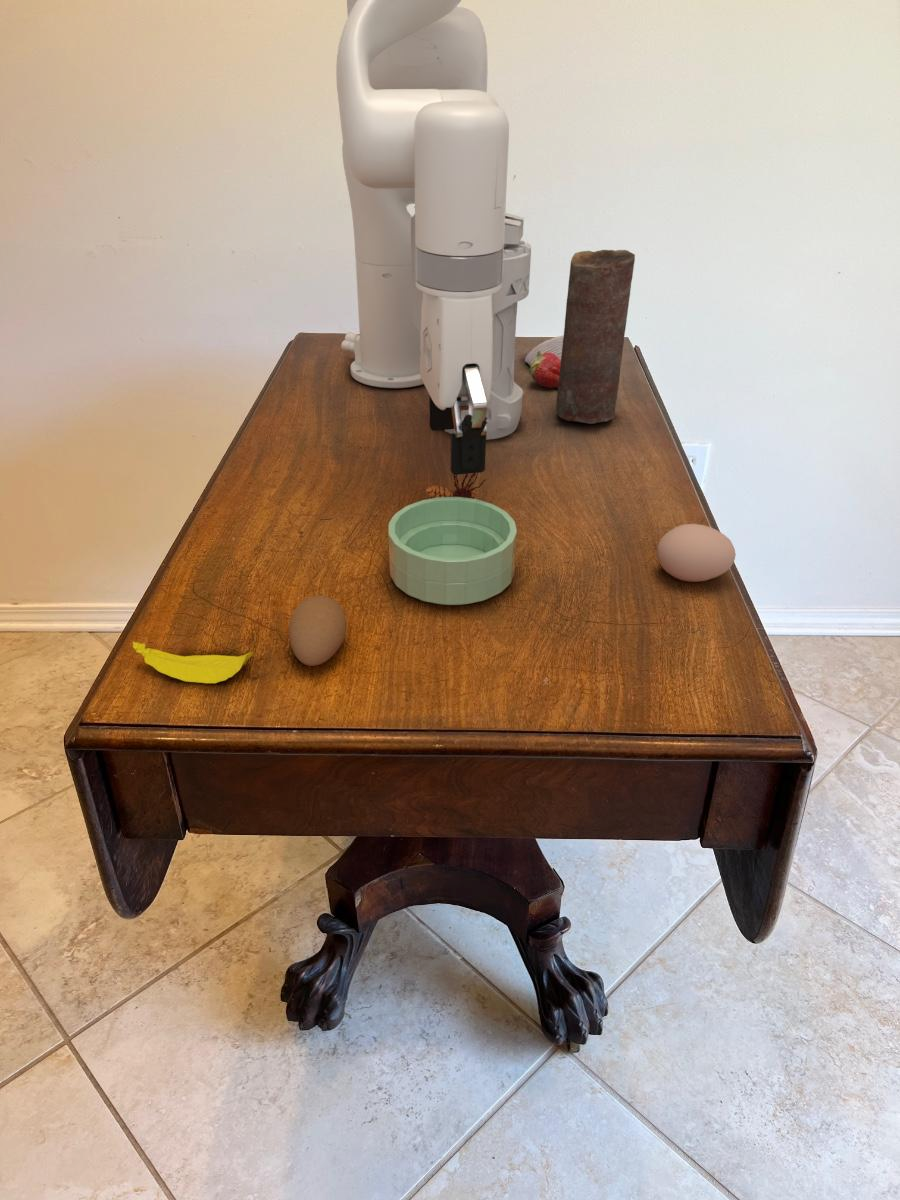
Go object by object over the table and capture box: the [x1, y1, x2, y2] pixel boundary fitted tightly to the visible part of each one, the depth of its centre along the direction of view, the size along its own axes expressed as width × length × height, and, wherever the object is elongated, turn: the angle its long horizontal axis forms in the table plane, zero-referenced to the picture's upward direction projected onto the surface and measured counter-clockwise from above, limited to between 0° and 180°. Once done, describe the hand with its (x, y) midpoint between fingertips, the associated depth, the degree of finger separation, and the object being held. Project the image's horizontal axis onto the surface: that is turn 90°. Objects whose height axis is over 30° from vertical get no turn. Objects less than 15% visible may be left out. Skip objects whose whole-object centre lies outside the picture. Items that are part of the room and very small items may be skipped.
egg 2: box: [656, 523, 736, 583], centre depth 74 cm, size 5×5×7 cm
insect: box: [425, 473, 487, 500], centre depth 84 cm, size 4×6×5 cm, turn 105°
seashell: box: [524, 335, 564, 368], centre depth 121 cm, size 10×6×10 cm
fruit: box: [528, 350, 561, 389], centre depth 113 cm, size 4×6×5 cm
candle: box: [555, 249, 636, 425], centre depth 99 cm, size 8×7×20 cm
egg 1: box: [288, 594, 348, 667], centre depth 65 cm, size 4×4×6 cm
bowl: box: [387, 497, 518, 606], centre depth 75 cm, size 11×11×5 cm
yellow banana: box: [132, 641, 255, 684], centre depth 64 cm, size 10×2×3 cm
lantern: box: [411, 205, 532, 441], centre depth 97 cm, size 13×10×25 cm
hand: (455, 449), depth 82 cm, fingers open, 9 cm apart
